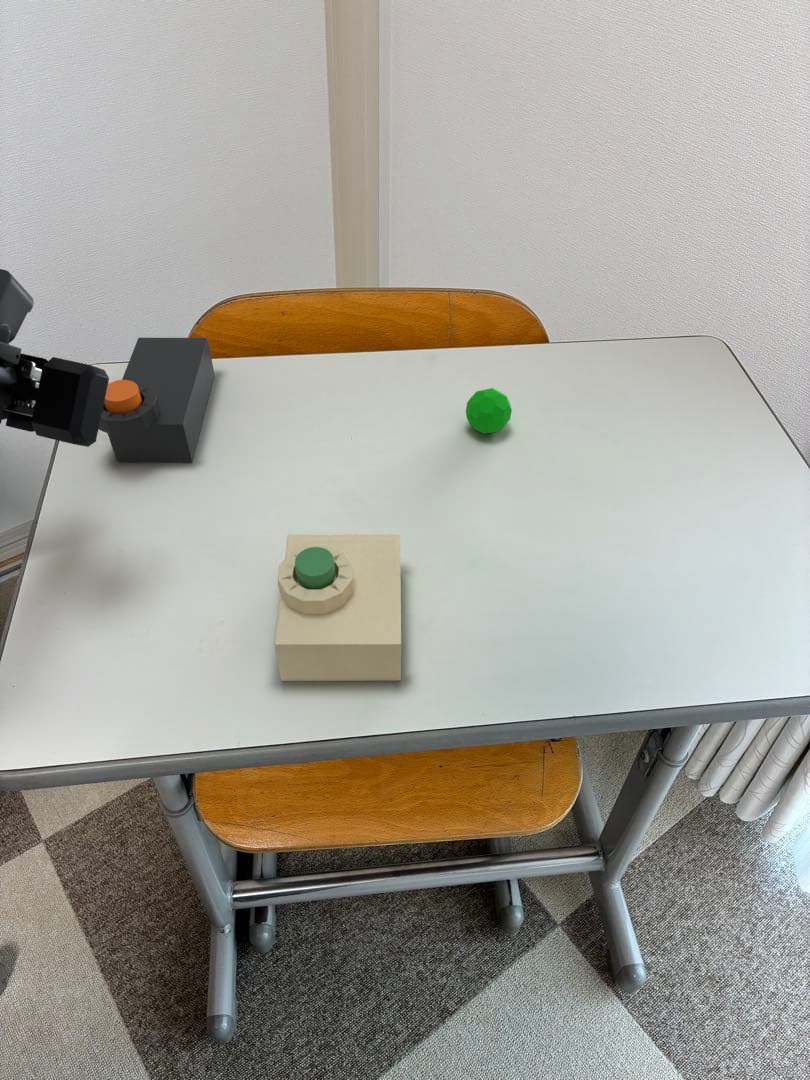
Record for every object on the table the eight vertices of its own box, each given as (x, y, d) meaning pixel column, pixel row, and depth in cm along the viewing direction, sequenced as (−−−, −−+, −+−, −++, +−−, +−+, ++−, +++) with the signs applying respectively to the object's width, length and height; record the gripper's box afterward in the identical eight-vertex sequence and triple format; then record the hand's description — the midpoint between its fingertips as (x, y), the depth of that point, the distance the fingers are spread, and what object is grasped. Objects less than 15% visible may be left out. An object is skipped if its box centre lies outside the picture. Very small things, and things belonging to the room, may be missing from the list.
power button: (295, 590, 65) (293, 576, 63) (298, 560, 67) (296, 546, 66) (334, 589, 65) (333, 575, 63) (336, 560, 67) (335, 546, 66)
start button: (101, 415, 80) (97, 401, 79) (110, 393, 82) (106, 379, 81) (137, 415, 80) (133, 401, 79) (145, 393, 82) (141, 379, 81)
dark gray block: (101, 473, 84) (82, 420, 79) (137, 374, 96) (123, 323, 91) (189, 473, 84) (176, 421, 79) (214, 375, 96) (205, 323, 91)
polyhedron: (475, 446, 87) (478, 411, 84) (457, 419, 91) (460, 385, 87) (516, 436, 89) (521, 401, 85) (497, 410, 92) (501, 376, 88)
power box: (280, 681, 66) (271, 630, 61) (292, 572, 75) (285, 519, 70) (400, 680, 67) (401, 630, 61) (399, 572, 75) (400, 519, 70)
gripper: (56, 274, 54) (170, 332, 69) (-166, 231, 58) (-11, 295, 73) (23, 435, 54) (144, 457, 70) (-195, 382, 58) (-35, 414, 74)
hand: (59, 401), depth 71 cm, fingers closed
